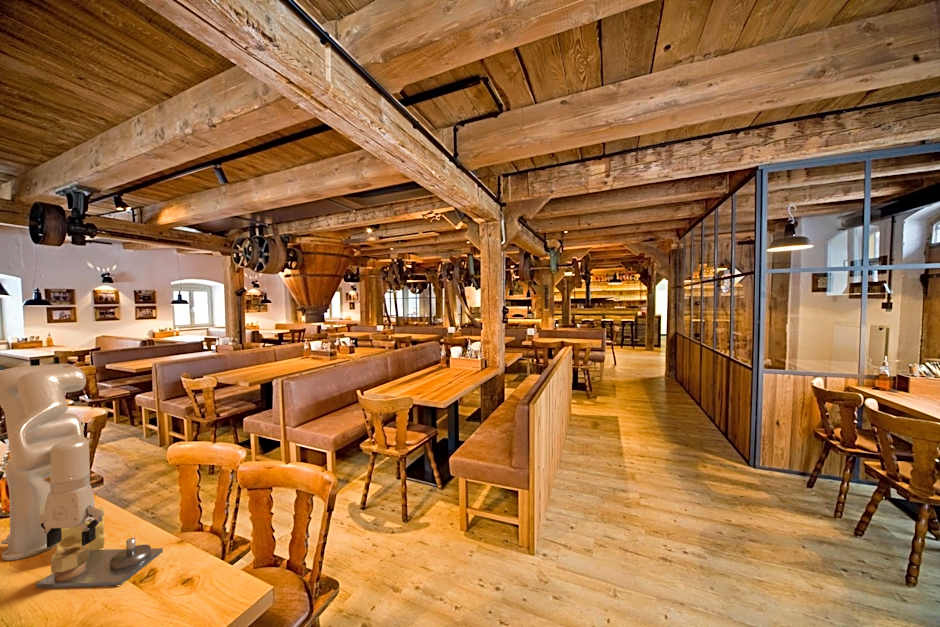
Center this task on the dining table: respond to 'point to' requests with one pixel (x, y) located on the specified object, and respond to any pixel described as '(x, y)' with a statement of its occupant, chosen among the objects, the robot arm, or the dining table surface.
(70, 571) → the brown rounded dome
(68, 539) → the cheese
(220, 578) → the dining table surface
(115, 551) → the plate
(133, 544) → the hub
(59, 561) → the collar
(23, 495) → the robot arm
